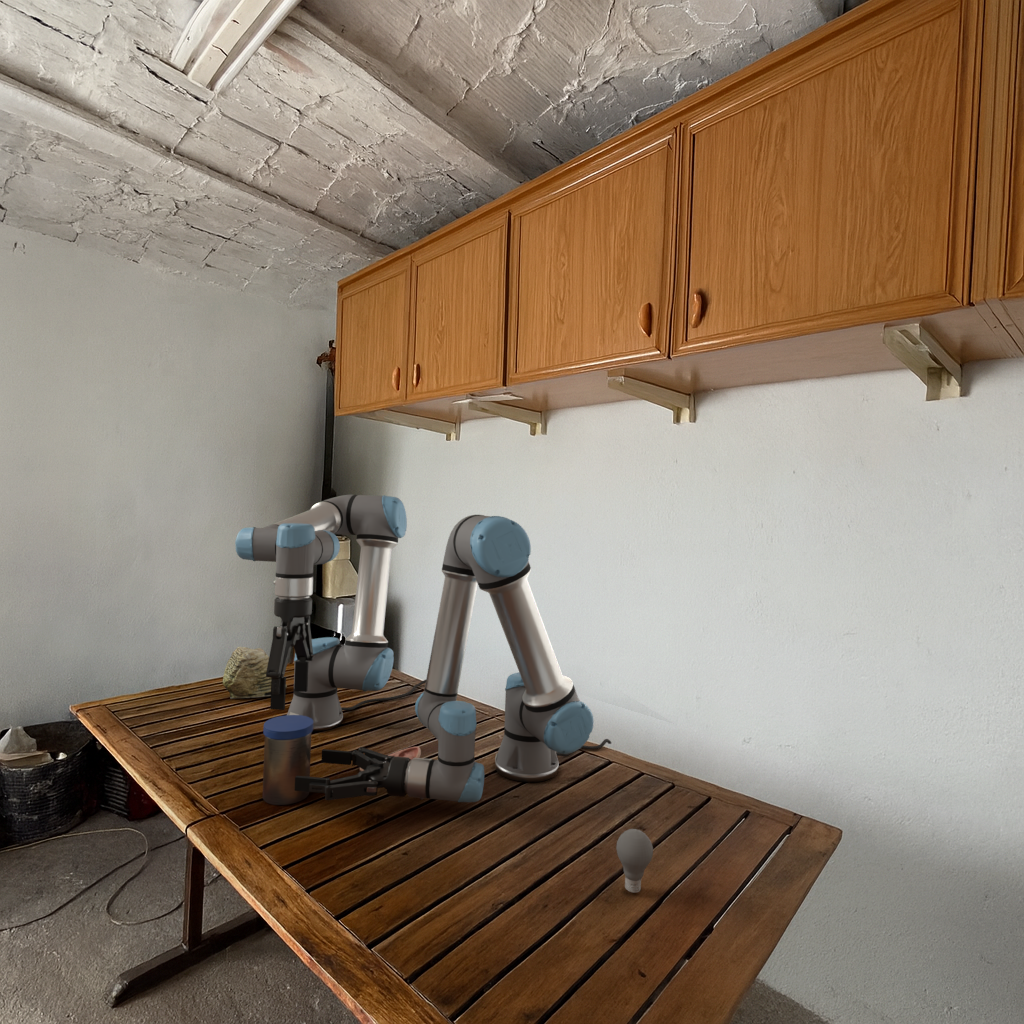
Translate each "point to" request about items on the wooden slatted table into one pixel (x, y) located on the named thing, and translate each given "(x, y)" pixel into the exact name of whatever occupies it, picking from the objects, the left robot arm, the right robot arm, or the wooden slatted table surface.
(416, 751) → the anatomical model
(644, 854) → the light bulb
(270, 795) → the jar
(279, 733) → the lid
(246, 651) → the fossil
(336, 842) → the wooden slatted table surface
